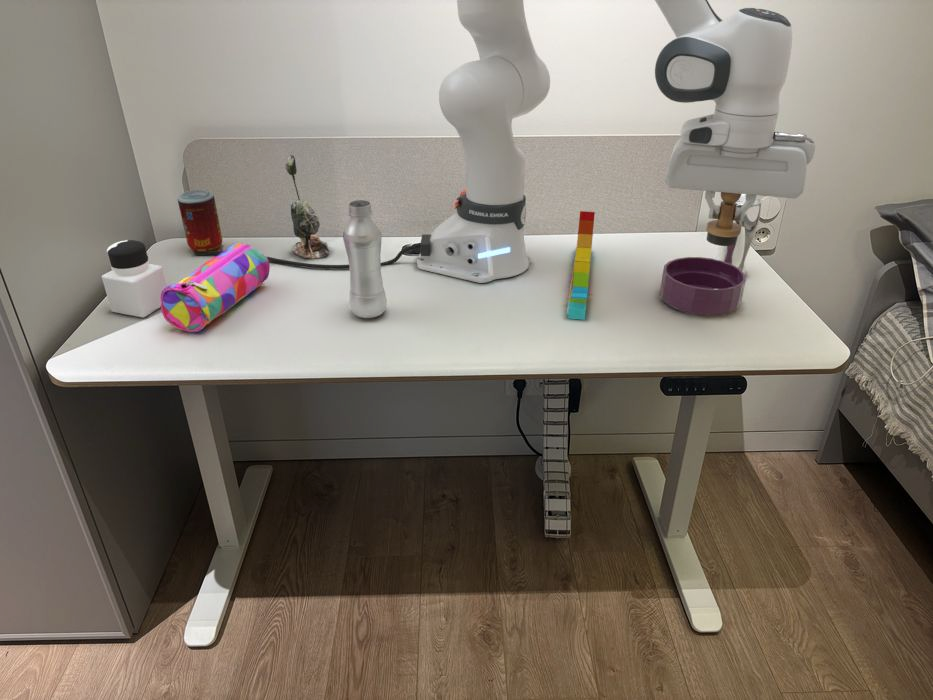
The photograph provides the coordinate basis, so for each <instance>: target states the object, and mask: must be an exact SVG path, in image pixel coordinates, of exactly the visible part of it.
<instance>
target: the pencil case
mask: <svg viewBox="0 0 933 700" xmlns="http://www.w3.org/2000/svg"><path fill="white" fill-rule="evenodd" d="M222 251H223V252H222V253H220V254H217V255H216V256H214V257H212V258H210V259H208V260H207V261H206V262H204V263H203V264H201V265H200V266H199V267H197V268H196V269H194V270H193V271H192V272H191V273H190V274H188V275H187V276H186V277H184V278H183V279H181V280H179V282H177V283H173V284H170V285H167V287H166V288H165V289H164V290H163V291H162V293H161V307H160V309H161V314H162V317H163V318H164V320H165V321H166V322H167V323H168V324H169V325H170V326H172V327H173V328H175V329H178V330H180V331H184V332H188V333H197V332H200V331H202V330H203V329H204V328H205V327H206V326H207V325H209V324H210V323H211V322H213V320H215V319H217V318H219V317H220V316H222V315H223V314H224V313H226V312H227V311H228V310H230V309H231V308H232V307H234V306H235V305H236V304H238V303H239V302H240V301H242V300H243V299H245V298H246V297H247V296H248V295H249V294H250V293H252V292H253V291H255V290H256V289H258V288H259V287H260V286H261V285H262V284H264V282H265V281H267V279H268V277H269V275H270V270H271V267H270V261H268V259H267V257H268V256H267V257H266V255H265V253H263V252H261V251H259V250H257V249H255V248H254V247H252V246H251V245H250V244H245V243H242V242H236V243H233V244H232V245H231V246H229V247H228V248H227V249H225V250H222Z"/></svg>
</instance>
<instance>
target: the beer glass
mask: <svg viewBox="0 0 933 700" xmlns="http://www.w3.org/2000/svg"><path fill="white" fill-rule="evenodd" d="M745 202H746V194H741V197H740V199H739V200H738V201H737V202H735V203H737V206H736V207H742V205H743V204H744V203H745ZM762 203H763V200H762V199H761V198H760V197H758V196H756V200H755V203H754V204H753V205H752V206H751V207H750V208H749V209H748V210H747V211H745V216H744V220H743V222H742V221H734V220H733V222H734V223H737V224H739V225H740V226H741V232H740V235H738V236H737V241H736V244H734V245H731V246H719V245H717V254H716V259H715V260H720V261H724V262H726V263H729V264H732V265H734V266H736V267H737V268H739V269H740V270H742V271H743V273H744V274H745V273H746V261H747V259H746V258H747V257H748V256H747V255H748V253H749V251H750V248H751V245H752V244H753V241H754V238H755V236H756V233H757V230H758V226H759V222H760V217H761V211H762V210H761V209H762ZM745 275H746V274H745Z"/></svg>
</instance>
